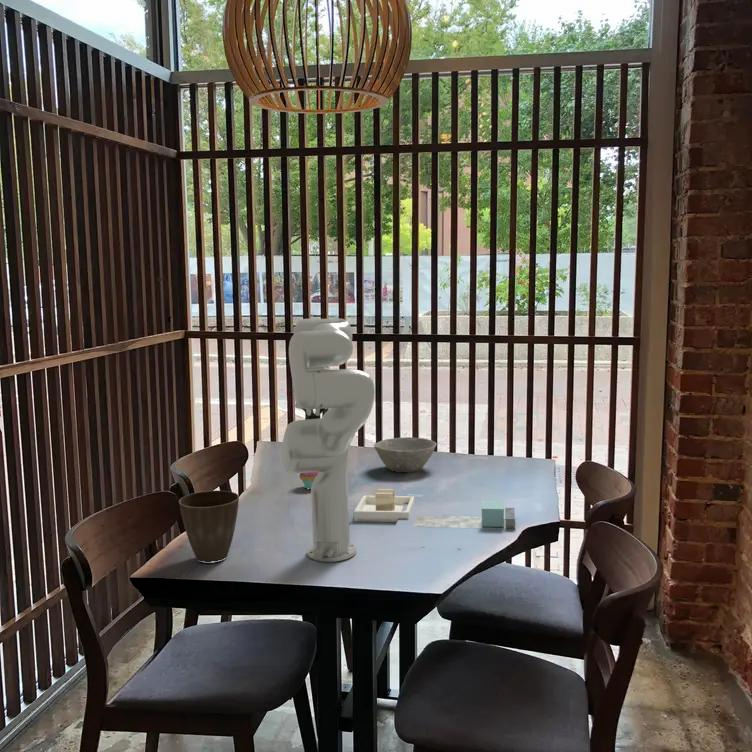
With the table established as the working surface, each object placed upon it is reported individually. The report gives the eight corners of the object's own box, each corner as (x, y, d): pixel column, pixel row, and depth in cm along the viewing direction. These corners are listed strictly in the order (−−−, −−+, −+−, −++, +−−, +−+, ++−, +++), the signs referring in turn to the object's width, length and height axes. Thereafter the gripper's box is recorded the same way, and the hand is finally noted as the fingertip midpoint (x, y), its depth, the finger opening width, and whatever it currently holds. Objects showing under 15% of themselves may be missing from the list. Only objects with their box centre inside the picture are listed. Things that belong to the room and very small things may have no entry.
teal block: (503, 526, 205) (503, 509, 204) (481, 526, 206) (481, 508, 205) (503, 517, 213) (503, 500, 212) (482, 517, 214) (482, 500, 213)
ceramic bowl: (375, 463, 286) (374, 438, 285) (435, 462, 285) (435, 436, 284) (373, 478, 264) (372, 451, 263) (438, 477, 263) (437, 449, 262)
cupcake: (297, 486, 257) (295, 452, 256) (320, 483, 260) (319, 449, 259) (303, 492, 249) (302, 457, 248) (328, 489, 252) (326, 454, 251)
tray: (408, 522, 216) (408, 512, 215) (354, 521, 218) (354, 511, 218) (414, 505, 231) (414, 496, 231) (363, 504, 234) (363, 495, 233)
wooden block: (392, 513, 222) (392, 493, 221) (375, 513, 222) (375, 493, 222) (394, 508, 226) (394, 489, 226) (378, 508, 227) (377, 488, 227)
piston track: (515, 533, 204) (515, 519, 203) (413, 530, 208) (412, 516, 208) (514, 521, 214) (514, 507, 213) (416, 519, 218) (416, 506, 218)
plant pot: (218, 544, 202) (214, 487, 200) (254, 556, 193) (251, 496, 191) (171, 561, 191) (166, 500, 189) (206, 574, 181) (203, 510, 179)
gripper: (341, 361, 208) (344, 426, 210) (290, 362, 211) (292, 426, 213) (335, 364, 201) (338, 431, 203) (282, 365, 203) (285, 431, 206)
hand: (314, 428), depth 208 cm, fingers closed
